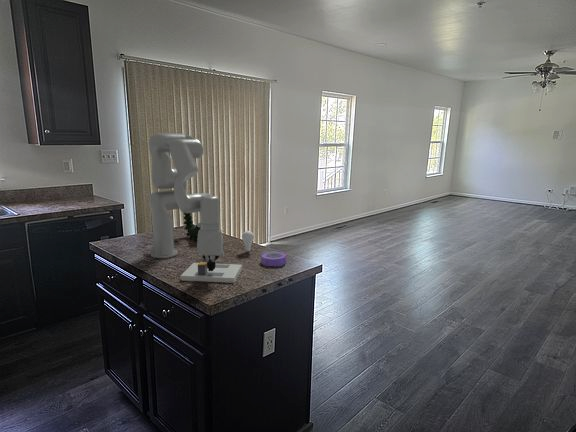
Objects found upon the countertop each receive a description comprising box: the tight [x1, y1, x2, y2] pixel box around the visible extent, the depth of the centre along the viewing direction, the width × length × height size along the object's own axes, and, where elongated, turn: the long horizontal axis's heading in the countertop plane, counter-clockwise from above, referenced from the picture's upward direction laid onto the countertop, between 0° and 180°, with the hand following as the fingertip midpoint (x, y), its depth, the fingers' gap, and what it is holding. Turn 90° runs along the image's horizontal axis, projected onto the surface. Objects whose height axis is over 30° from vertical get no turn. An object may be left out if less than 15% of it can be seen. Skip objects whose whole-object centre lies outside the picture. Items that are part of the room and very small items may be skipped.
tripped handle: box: [198, 261, 207, 275], centre depth 148 cm, size 3×3×4 cm
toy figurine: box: [183, 213, 200, 241], centre depth 204 cm, size 9×19×25 cm
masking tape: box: [260, 251, 287, 268], centre depth 170 cm, size 12×12×4 cm
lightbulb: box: [241, 230, 255, 253], centre depth 185 cm, size 6×6×11 cm
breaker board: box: [180, 262, 243, 284], centre depth 154 cm, size 22×16×2 cm
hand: (211, 270), depth 148 cm, fingers closed
